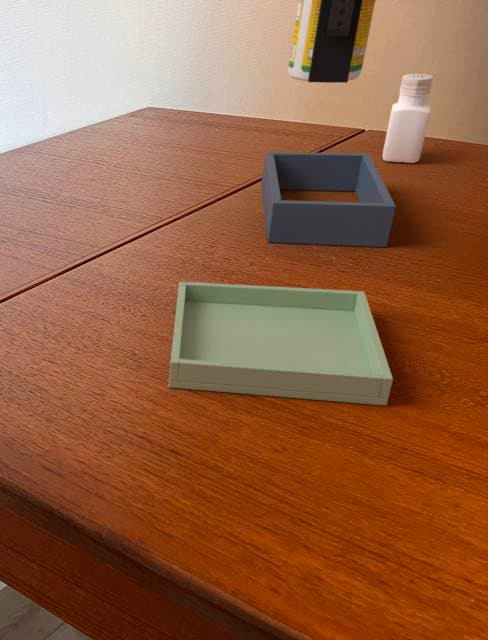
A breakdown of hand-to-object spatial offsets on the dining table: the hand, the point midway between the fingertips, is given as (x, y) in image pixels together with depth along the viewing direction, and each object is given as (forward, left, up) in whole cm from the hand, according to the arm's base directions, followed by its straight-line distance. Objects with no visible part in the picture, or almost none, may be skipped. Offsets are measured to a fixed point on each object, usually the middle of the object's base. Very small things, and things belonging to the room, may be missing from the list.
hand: (324, 72), depth 67 cm
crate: (-4, -17, -17) cm, 24 cm away
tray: (+2, +14, -17) cm, 23 cm away
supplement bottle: (0, 0, 0) cm, 0 cm away
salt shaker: (-15, -38, -17) cm, 44 cm away
